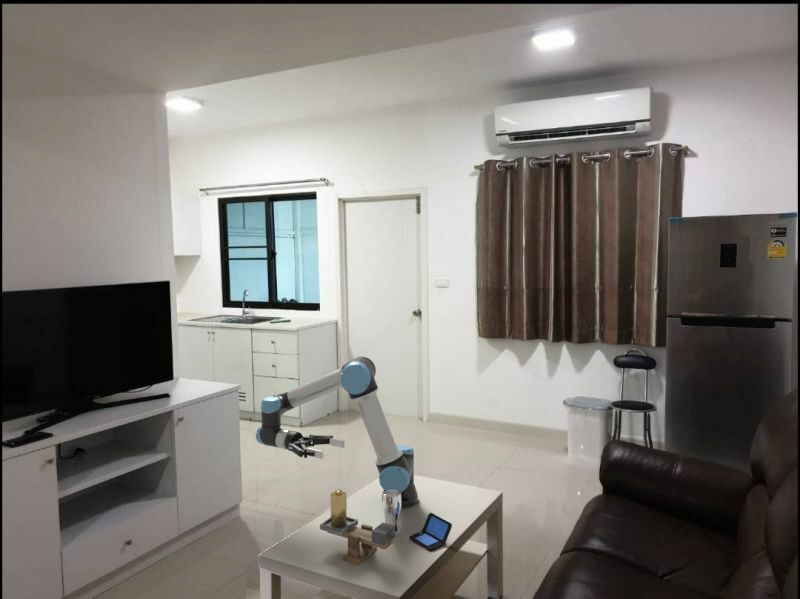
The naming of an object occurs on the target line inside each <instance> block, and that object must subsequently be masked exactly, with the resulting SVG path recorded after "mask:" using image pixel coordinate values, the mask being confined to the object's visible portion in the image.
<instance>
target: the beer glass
mask: <svg viewBox="0 0 800 599" xmlns="http://www.w3.org/2000/svg"><path fill="white" fill-rule="evenodd" d="M383 491H384V490H383ZM382 494H383V502H382V509H383V516H384V523H387V524H390V525H394V526H395V536H396V535H398V534H400V533H401V527H400V526H401V525H400V518H401V513H402V508H401V492H400V491H399V490H395V489H389V490H386V491H384V493H383V492H382Z"/></svg>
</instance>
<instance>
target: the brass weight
mask: <svg viewBox="0 0 800 599" xmlns="http://www.w3.org/2000/svg"><path fill="white" fill-rule="evenodd" d="M347 509H348V508H347V492H345V491H344V490H343V491H342V489H335V490H334V491H333V492H331V493H330V517H331V526H332V527H335V528H341V527H344V526H346V525H347V517H348V516H347V514H348V513H347V511H348V510H347Z"/></svg>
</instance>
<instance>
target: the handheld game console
mask: <svg viewBox="0 0 800 599" xmlns="http://www.w3.org/2000/svg"><path fill="white" fill-rule="evenodd" d="M452 527H453V524H452V523H451V522H449V521H447V520H445V519H443V518H442V517H440V516H438V515H436V514H434V513H432V512H429V513H428V515H427V518H426V520H425V523H424V525H423V527H422V529H421V530H420V531H419V532H416V533H414V534H410V535H409V537H408V538H409V540H410V541H412V542H414V543H416V544H417V545H418V546H420V547H421V548H423V547H424V548H423V549H425V548H426V549H425V550H426V551H428V550H429V552H434V551H436V550H438V549H437V548H439V549H440V547H441V548H443V547H445V546H446V545H447V544H446V543H447V541H448V537H449V534H450V533H451V530H452ZM444 545H445V546H444ZM442 546H443V547H442ZM433 550H434V551H433Z"/></svg>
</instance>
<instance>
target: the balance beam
mask: <svg viewBox="0 0 800 599" xmlns="http://www.w3.org/2000/svg"><path fill="white" fill-rule="evenodd" d="M358 525H359V520H358V519H356V518H353V517H350V516H347V525H346V526H344V527H341V528H335V527H332V526H331V516H330V517H329V518H327V519H326V520H324V521H323V522H322V523H320V524H319V530H320V531H325V532H327V533H328V534H332V535H334V536H338V537H341V538H344V539H348V535H349V534H353V535H357V536H360V544H361V543H365V544H368V545H372V546H375V547H377V549H378V548H379V549H382V550H387V549H388V548H389V547H390V546H392V544H394V543H395V538H396V535H395V526H394V525H390V524H387V523H385V522H381V523H380V524H379V525H378V526H376V527H375V528H373V530H372V531H369V530H365V529H362V528H361V527H358Z"/></svg>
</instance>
